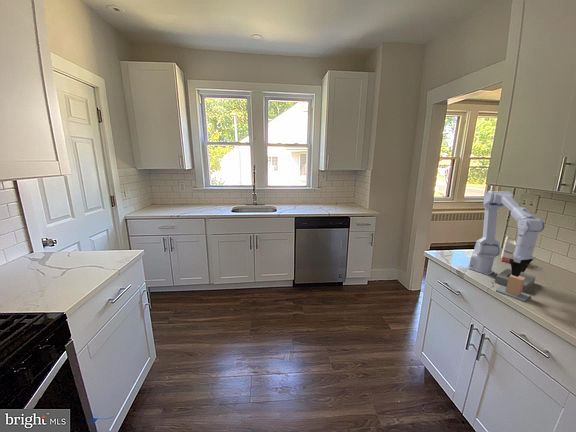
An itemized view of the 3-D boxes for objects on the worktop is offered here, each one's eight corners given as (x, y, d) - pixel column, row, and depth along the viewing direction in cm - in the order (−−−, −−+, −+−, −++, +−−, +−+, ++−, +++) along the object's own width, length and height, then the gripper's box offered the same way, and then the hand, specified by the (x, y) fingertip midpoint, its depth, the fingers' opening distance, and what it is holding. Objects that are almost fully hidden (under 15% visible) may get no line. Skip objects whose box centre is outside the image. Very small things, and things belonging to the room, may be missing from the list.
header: (494, 282, 121) (496, 275, 120) (505, 274, 130) (507, 268, 129) (524, 292, 112) (525, 285, 112) (534, 283, 121) (535, 276, 120)
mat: (495, 291, 113) (496, 290, 113) (502, 286, 117) (502, 285, 117) (524, 301, 105) (524, 300, 105) (530, 296, 109) (530, 295, 109)
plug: (505, 291, 112) (509, 276, 110) (508, 289, 114) (512, 273, 112) (517, 296, 108) (522, 280, 106) (521, 293, 110) (525, 277, 108)
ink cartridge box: (512, 263, 143) (518, 240, 140) (501, 261, 146) (506, 238, 143) (511, 259, 150) (516, 236, 146) (500, 257, 153) (506, 234, 149)
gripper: (533, 251, 98) (524, 281, 102) (542, 244, 106) (534, 273, 109) (510, 246, 104) (503, 275, 107) (521, 240, 112) (514, 267, 115)
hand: (517, 273), depth 109 cm, fingers open, 7 cm apart
